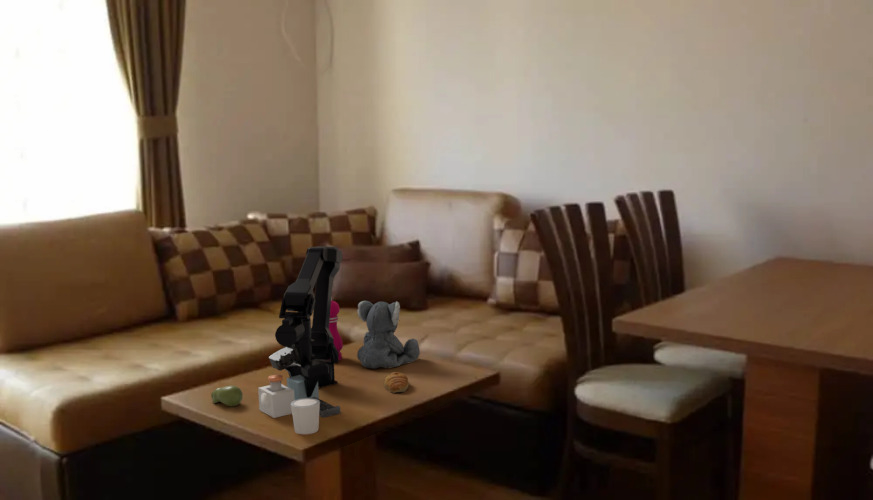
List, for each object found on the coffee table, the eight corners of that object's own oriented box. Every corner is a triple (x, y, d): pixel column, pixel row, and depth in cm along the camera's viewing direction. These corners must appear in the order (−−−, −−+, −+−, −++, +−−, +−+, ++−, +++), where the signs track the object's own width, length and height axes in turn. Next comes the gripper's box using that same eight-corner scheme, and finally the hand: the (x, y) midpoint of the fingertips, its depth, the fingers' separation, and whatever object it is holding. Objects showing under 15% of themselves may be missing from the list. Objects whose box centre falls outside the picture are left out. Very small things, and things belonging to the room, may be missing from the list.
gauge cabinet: (280, 405, 234) (279, 382, 233) (295, 412, 228) (294, 390, 227) (257, 410, 230) (256, 387, 229) (272, 418, 224) (271, 395, 223)
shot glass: (293, 426, 218) (291, 398, 217) (321, 424, 219) (320, 397, 218) (291, 436, 211) (289, 407, 210) (320, 434, 212) (319, 406, 211)
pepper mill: (339, 362, 272) (336, 298, 269) (316, 362, 274) (313, 298, 271) (346, 356, 279) (344, 293, 276) (324, 355, 281) (321, 293, 278)
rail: (301, 394, 242) (301, 388, 242) (340, 413, 227) (340, 406, 226) (284, 398, 239) (284, 392, 239) (322, 417, 223) (322, 411, 223)
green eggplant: (228, 389, 230) (204, 388, 237) (231, 409, 231) (208, 408, 237) (245, 383, 235) (221, 383, 241) (248, 403, 235) (224, 402, 241)
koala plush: (423, 359, 274) (422, 297, 271) (390, 374, 259) (388, 308, 256) (378, 352, 284) (376, 292, 281) (343, 366, 269) (340, 302, 266)
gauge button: (279, 395, 231) (278, 373, 230) (286, 399, 228) (285, 376, 227) (266, 398, 229) (265, 376, 228) (273, 402, 226) (272, 379, 225)
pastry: (411, 393, 242) (411, 380, 241) (386, 395, 241) (386, 382, 240) (406, 383, 251) (406, 370, 250) (383, 385, 250) (382, 372, 249)
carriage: (307, 396, 240) (306, 373, 240) (318, 401, 236) (317, 378, 235) (287, 400, 237) (286, 377, 236) (298, 406, 232) (297, 383, 231)
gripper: (256, 335, 236) (259, 392, 239) (290, 349, 221) (292, 409, 224) (293, 328, 243) (296, 383, 245) (328, 341, 228) (331, 400, 231)
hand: (302, 394), depth 236 cm, fingers closed on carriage, 6 cm apart
